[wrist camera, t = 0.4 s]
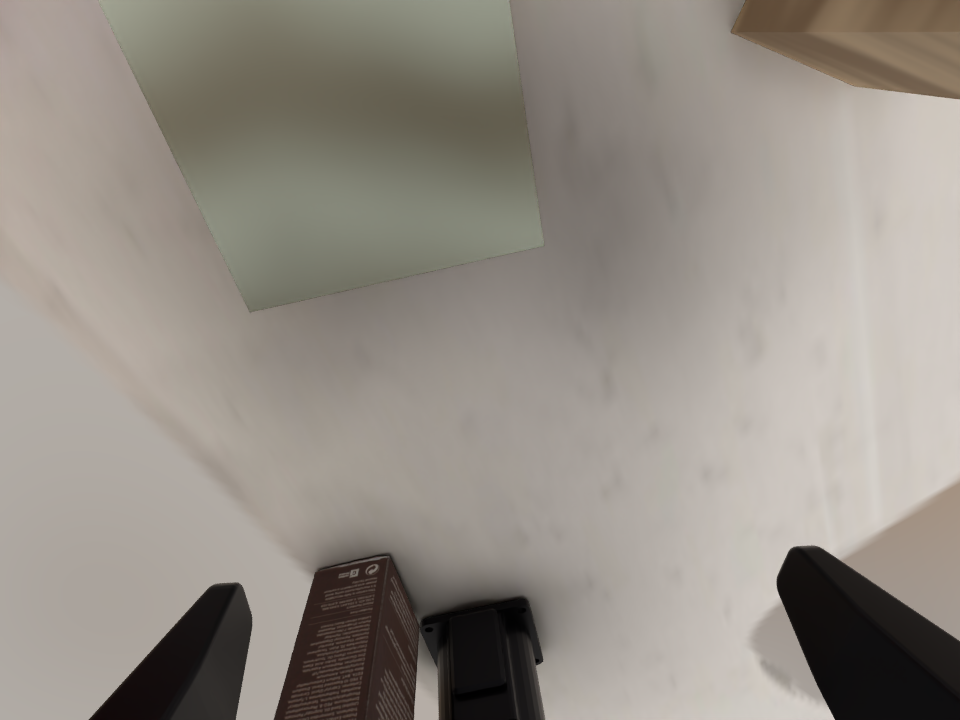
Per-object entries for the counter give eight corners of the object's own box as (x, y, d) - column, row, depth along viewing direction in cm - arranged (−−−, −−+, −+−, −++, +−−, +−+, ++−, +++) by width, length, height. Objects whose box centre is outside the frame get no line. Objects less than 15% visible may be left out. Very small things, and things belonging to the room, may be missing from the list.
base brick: (522, 208, 19) (544, 245, 16) (280, 263, 19) (249, 312, 16) (471, -119, 14) (485, -166, 11) (150, -40, 15) (67, -62, 11)
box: (308, 570, 28) (226, 861, 17) (391, 551, 28) (360, 833, 17) (346, 643, 31) (296, 935, 20) (422, 626, 31) (412, 912, 20)
